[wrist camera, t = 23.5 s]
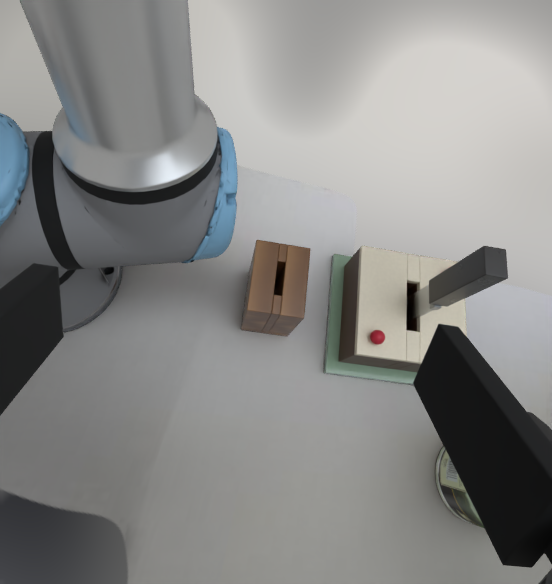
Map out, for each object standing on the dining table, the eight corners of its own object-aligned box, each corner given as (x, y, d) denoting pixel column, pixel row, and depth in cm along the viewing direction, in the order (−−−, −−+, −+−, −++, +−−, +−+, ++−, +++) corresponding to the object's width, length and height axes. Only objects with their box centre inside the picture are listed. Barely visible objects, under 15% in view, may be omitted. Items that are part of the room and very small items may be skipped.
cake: (338, 361, 50) (361, 351, 42) (344, 265, 54) (366, 239, 46) (436, 375, 51) (477, 367, 43) (434, 280, 55) (471, 257, 47)
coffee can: (520, 520, 48) (637, 560, 35) (442, 527, 47) (532, 573, 33) (503, 430, 51) (604, 436, 38) (428, 434, 50) (506, 442, 36)
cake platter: (323, 373, 50) (325, 372, 49) (332, 256, 55) (334, 253, 54) (443, 389, 52) (447, 388, 51) (441, 274, 57) (445, 271, 56)
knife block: (240, 329, 50) (246, 310, 41) (249, 270, 53) (256, 239, 43) (287, 336, 51) (304, 318, 41) (293, 277, 53) (310, 248, 44)
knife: (382, 329, 52) (485, 277, 32) (382, 307, 53) (483, 243, 33) (396, 332, 52) (508, 280, 32) (396, 309, 53) (506, 247, 33)
